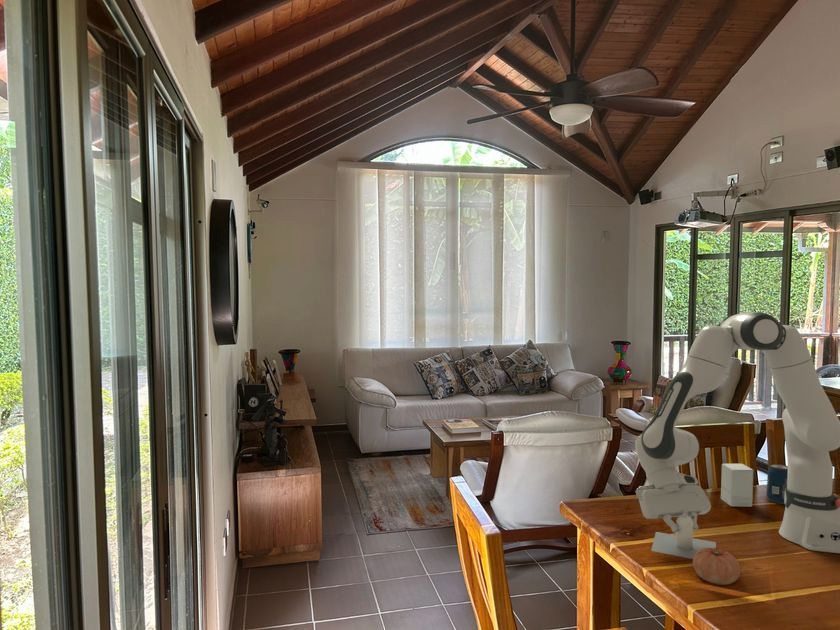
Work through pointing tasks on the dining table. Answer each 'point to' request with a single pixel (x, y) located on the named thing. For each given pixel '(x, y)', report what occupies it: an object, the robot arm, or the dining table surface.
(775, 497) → the soda can
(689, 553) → the grey pad
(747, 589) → the dining table surface
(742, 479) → the supplement box
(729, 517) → the dining table surface
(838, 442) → the robot arm
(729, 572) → the tomato
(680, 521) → the white rounded bottle
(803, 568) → the dining table surface
